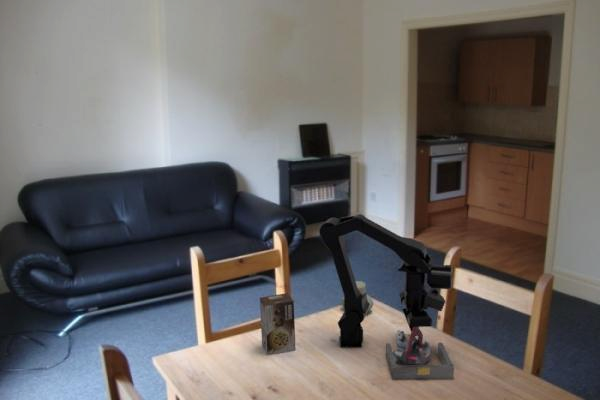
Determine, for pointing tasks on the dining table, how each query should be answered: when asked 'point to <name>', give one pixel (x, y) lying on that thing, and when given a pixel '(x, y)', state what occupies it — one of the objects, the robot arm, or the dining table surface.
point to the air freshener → (362, 289)
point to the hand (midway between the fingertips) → (414, 335)
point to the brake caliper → (412, 348)
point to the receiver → (421, 367)
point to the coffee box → (277, 323)
